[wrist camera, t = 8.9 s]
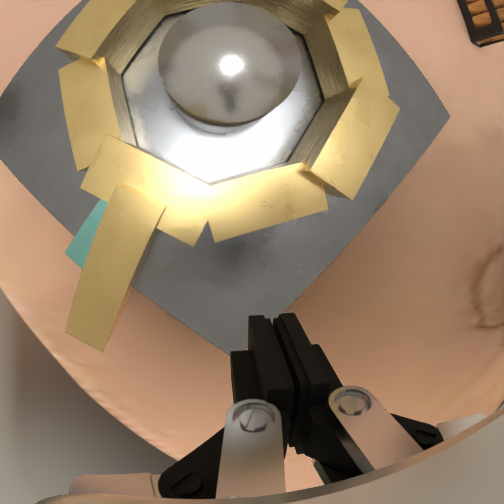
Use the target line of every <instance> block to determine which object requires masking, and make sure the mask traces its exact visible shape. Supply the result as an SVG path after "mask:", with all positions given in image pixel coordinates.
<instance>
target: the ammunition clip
mask: <svg viewBox="0 0 504 504" xmlns="http://www.w3.org/2000/svg"><path fill="white" fill-rule="evenodd" d="M457 1H458V4H459V7H460V9H461V12H462V15H463V18H464V21H465V24H466V27H467V30H468V33H469V36H470V40H471V42H472V43H474V44H475V45H477V46H479V47H480V48H481V47H484V46H487V45H491V44H494V43H498V42H501V41H504V0H457Z"/></svg>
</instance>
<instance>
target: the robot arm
mask: <svg viewBox="0 0 504 504" xmlns="http://www.w3.org/2000/svg"><path fill="white" fill-rule="evenodd" d="M230 361H231V380H232V391H233V400H234V405H232V407H231V408H230V409H229V410H228V412H227V415H226V421H225V427H224V428H222V429H221V430H220V431H219V432H217V433H216V434H215V435H214V436H212V437H211V438H210V439H208V440H207V441H206V442H204V443H203V444H202V445H200V446H199V447H198V448H196V449H195V450H194V451H192V452H191V453H189V454H188V455H187V456H185V457H184V458H182V459H181V460H180V461H178V462H177V463H175V464H174V465H172V466H171V467H169V468H168V469H167V470H165V472H163V473H162V474H158V475H150V473H149V472H148V473H136V474H118V475H82V476H79V477H77V478H76V479H74V480H73V481H72V483H71V484H70V487H69V494H64V495H57V496H52V497H48V498H45V499H43V500H40V501H38V502H37V503H36V504H504V408H503V409H501V410H499V411H497V412H495V413H493V414H492V415H490V416H486V415H483V414H475V415H471V416H467V417H464V418H460V419H456V420H452V421H448V422H443V423H439V424H437V425H436V426H435V427H434V426H432V425H430V424H427V423H423V422H419V421H416V420H412V419H408V418H405V417H401V416H398V415H395V414H391V413H389V412H388V411H387V410H386V409H385V408H384V407H383V405H382V404H381V403H380V402H379V401H378V400H377V399H376V398H375V397H374V396H373V394H371V393H370V392H369V391H368V390H366V389H363V388H361V387H357V386H345V387H343V385H342V384H341V382H340V380H339V378H338V377H337V375H336V373H335V371H334V370H333V368H332V366H331V364H330V363H329V361H328V359H327V357H326V356H325V354H324V352H323V350H322V349H321V347H320V346H319V345H318V344H313V345H311V343H310V341H309V339H308V337H307V336H306V334H305V332H304V330H303V328H302V326H301V324H300V323H299V321H298V319H297V317H296V315H295V314H294V313H284V314H279V315H278V318H274V319H273V326H272V323H271V320H270V318H265V317H264V315H250V316H248V350H242V351H230ZM287 444H289V447H295V450H296V453H297V454H303V453H304V454H305V455H306V456H308V457H311V458H312V463H313V466H314V467H315V469H316V471H317V473H318V474H319V476H320V478H321V480H322V481H323V483H324V485H322V486H318V487H313V488H309V489H303V490H298V491H293V492H287V493H286V490H285V472H284V459H285V455H286V450H287Z"/></svg>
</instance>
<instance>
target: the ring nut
mask: <svg viewBox="0 0 504 504" xmlns="http://www.w3.org/2000/svg"><path fill="white" fill-rule="evenodd" d="M235 1H241V2H243V3H245V4H250V5H253V6H256V7H259V8H261V9H264V10H266V11H268V12H269V13H271V14H273V15H274V16H276V17H277V18H278V19H280V20H281V21H282V22H283V23H284V24H286V25H288V26H289V27H291V28H293V29H294V30H296V31H298V32H299V33H301V34H303V35H304V37H305V40H306V42H307V45H308V48H309V51H310V54H311V57H312V60H313V63H314V66H315V69H316V72H317V75H318V79H319V82H320V85H321V89H322V92H323V95H324V99H325V101H324V102H323V104H322V106H321V107H320V109H319V111H318V112H317V114H316V116H315V117H314V119H313V121H312V122H311V124H310V126H309V127H308V129H307V131H306V132H305V134H304V136H303V137H302V139H301V141H300V143H299V144H298V146H297V148H296V149H295V151H294V153H293V154H292V156H291V158H290V160H289V161H288V162H286V163H282V164H278V165H274V166H270V167H266V168H262V169H258V170H254V171H251V172H247V173H243V174H239V175H236V176H232V177H229V178H225V179H222V180H218V181H215V182H211V183H208V182H206V181H204V180H202V179H200V178H198V177H197V176H195V175H193V174H191V173H189V172H187V171H185V170H183V169H181V168H180V167H178V166H176V165H174V164H172V163H170V162H168V161H166V160H164V159H162V158H160V157H158V156H156V155H154V154H152V153H150V152H148V151H146V150H144V149H142V148H140V147H138V146H137V144H136V140H135V136H134V133H133V129H132V125H131V120H130V116H129V112H128V108H127V103H126V99H125V94H124V90H123V85H122V80H121V73H122V72H123V70H124V69H125V67H126V66H127V64H128V63H129V61H130V60H131V59H132V57H133V56H134V54H135V53H136V52H137V50H138V49H139V47H140V46H141V45H142V43H143V42H144V41H145V40H146V38H147V37H148V36H149V34H150V33H151V32H152V31H153V29H154V28H155V27H156V26H157V24H158V23H159V22H160V21H161V20H162V19H163V17H164V16H166V15H169V14H173V13H177V12H181V11H185V10H190V9H194V8H199V7H202V6H205V5H209V4H213V3H220V2H235ZM347 1H348V0H90V1H89V2H88V3H87V5H86V6H85V7H84V8H83V9H82V11H81V12H80V13H79V14H78V16H77V17H76V18H75V19H74V21H73V22H72V23H71V25H70V26H69V27H68V29H67V30H66V31H65V33H64V34H63V36H62V37H61V39H60V40H59V41H58V43H57V44H56V46H55V47H56V48H57V49H58V50H60V51H61V52H62V53H64V54H65V55H66V56H67V57H69V58H70V59H71V60H72V61H74V62H72V63H70V64H68V65H67V66H65V67H63V68H61V69H59V78H60V86H61V93H62V100H63V106H64V112H65V118H66V123H67V128H68V133H69V138H70V142H71V147H72V151H73V155H74V160H75V164H76V167H77V171H87V173H86V175H85V177H84V180H83V182H82V184H81V187H80V188H81V189H83V190H85V191H87V192H89V193H91V194H93V195H95V196H96V197H98V198H100V199H102V200H104V201H106V202H108V205H107V207H106V209H105V212H104V214H103V216H102V219H101V221H100V224H99V226H98V229H97V231H96V234H95V236H94V239H93V242H92V244H91V247H90V250H89V253H88V256H87V258H86V261H85V264H84V267H83V270H82V273H81V276H80V280H79V283H78V286H77V289H76V293H75V296H74V300H73V303H72V307H71V311H70V314H69V318H68V322H67V326H66V331H65V332H66V333H67V334H69V335H71V336H73V337H75V338H76V339H78V340H80V341H82V342H84V343H86V344H88V345H90V346H92V347H94V348H96V349H98V350H100V351H102V352H104V350H105V347H106V345H107V343H108V341H109V338H110V336H111V334H112V332H113V330H114V328H115V325H116V323H117V321H118V319H119V317H120V315H121V313H122V311H123V309H124V307H125V305H126V302H127V300H128V298H129V295H130V293H131V290H132V288H133V286H134V283H135V281H136V279H137V276H138V274H139V272H140V270H141V267H142V265H143V263H144V261H145V258H146V256H147V254H148V252H149V250H150V248H151V246H152V243H153V241H154V239H155V237H156V235H157V233H158V231H159V230H161V231H163V232H165V233H167V234H169V235H171V236H173V237H175V238H177V239H179V240H181V241H183V242H185V243H187V244H189V245H191V246H193V247H194V245H195V243H196V242H197V240H198V238H199V236H200V234H201V232H202V230H203V228H204V227H205V225H206V223H207V221H208V222H209V225H210V228H211V232H212V235H213V238H214V242H215V243H216V242H219V241H222V240H226V239H229V238H232V237H236V236H239V235H242V234H246V233H249V232H252V231H256V230H259V229H263V228H266V227H269V226H273V225H276V224H280V223H283V222H286V221H290V220H293V219H297V218H300V217H304V216H307V215H311V214H314V213H318V212H321V211H325V210H328V205H327V200H326V195H325V194H328V195H332V196H336V197H340V198H344V199H348V200H352V201H353V199H354V197H355V195H356V194H357V192H358V190H359V188H360V186H361V185H362V183H363V181H364V179H365V177H366V175H367V173H368V172H369V170H370V168H371V166H372V164H373V162H374V160H375V158H376V156H377V154H378V152H379V151H380V149H381V147H382V145H383V143H384V141H385V139H386V137H387V135H388V133H389V131H390V129H391V127H392V125H393V123H394V121H395V119H396V116H397V114H398V112H399V110H400V108H399V107H398V106H397V105H396V104H395V103H394V102H393V101H392V100H390V99H389V98H388V97H387V96H390V95H389V91H388V88H387V84H386V81H385V78H384V75H383V71H382V68H381V65H380V62H379V59H378V56H377V53H376V51H375V48H374V45H373V42H372V40H371V37H370V35H369V32H368V29H367V27H366V25H365V22H364V20H363V17H362V15H361V13H360V11H359V9H353V8H343V7H344V5H345V4H346V3H347Z"/></svg>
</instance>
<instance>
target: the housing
mask: <svg viewBox="0 0 504 504" xmlns="http://www.w3.org/2000/svg"><path fill="white" fill-rule="evenodd" d="M89 1H90V0H82V1H81V2H80V3H79V4H78V5H76V6H75V7H74V8H73V9H72V10H71V11H70V12H69V13H68V14H67V15H66V16H65V17H64V18H63V19H62V20H61V21H60V22H59V23H58V24H57V25H56V26H55V27H54V28H53V29H52V30H51V32H50V33H49V34H48V35H47V36H46V37H45V38H44V39H43V40H42V42H41V43H40V44H39V45H38V46H37V48H36V49H35V50H34V51H33V52H32V54H31V55H30V56H29V57H28V59H27V60H26V61H25V62H24V64H23V65H22V66H21V68H20V69H19V70H18V72H17V73H16V75H15V76H14V77H13V79H12V80H11V82H10V83H9V85H8V86H7V88H6V89H5V91H4V92H3V94H2V95H1V97H0V159H1V160H2V162H3V163H4V164H5V165H6V166H7V167H8V168H9V170H10V171H11V172H12V173H13V174H14V175H15V176H16V177H17V179H18V180H19V181H20V182H21V183H22V184H23V185H24V186H25V187H26V188H27V189H28V191H29V192H30V193H31V194H32V195H33V196H34V197H35V198H36V199H37V200H38V201H39V202H40V203H41V204H42V205H43V206H44V207H45V208H46V209H47V210H48V211H49V212H50V213H51V214H52V215H53V216H54V217H55V218H56V219H57V220H58V221H59V222H60V223H61V224H62V225H63V226H64V227H65V228H66V229H68V230H69V231H70V232H71V233H72V234H73V235H74V236H75V237H74V239H73V241H72V242H71V244H70V246H69V247H68V249H67V250H66V252H65V254H66V255H68V256H69V257H70V258H71V259H72V260H73V261H74V262H75V263H76V264H78V265H79V266H80V267H81V268H82V269H83V267H84V264H85V261H86V258H87V256H88V253H89V250H90V247H91V244H92V242H93V239H94V236H95V234H96V231H97V229H98V226H99V224H100V221H101V219H102V216H103V214H104V212H105V209H106V207H107V205H108V202H106V201H104V200H102V199H100V198H98V197H96V196H95V195H93V194H91V193H89V192H87V191H85V190H83V189H81V188H80V187H81V184H82V182H83V180H84V177H85V175H86V173H87V171H77V167H76V164H75V160H74V155H73V151H72V147H71V142H70V138H69V133H68V128H67V123H66V118H65V112H64V106H63V100H62V93H61V86H60V78H59V69H61V68H63V67H65V66H67V65H68V64H70V63H72V62H74V61H72V60H71V59H70V58H69V57H67V56H66V55H65V54H64V53H62V52H61V51H60V50H58V49H57V48H56V47H55V46H56V44H57V43H58V41H59V40H60V39H61V37H62V36H63V34H64V33H65V31H66V30H67V29H68V27H69V26H70V25H71V23H72V22H73V21H74V19H75V18H76V17H77V16H78V14H79V13H80V12H81V11H82V9H83V8H84V7H85V6H86V5H87V3H88V2H89ZM343 8H353V9H359V11H360V13H361V15H362V17H363V20H364V22H365V25H366V27H367V29H368V32H369V35H370V37H371V40H372V42H373V45H374V48H375V51H376V53H377V56H378V59H379V62H380V65H381V68H382V71H383V75H384V78H385V81H386V84H387V88H388V91H389V95H390V96H387V97H388V98H389V99H390V100H392V101H393V102H394V103H395V104H396V105H397V106H398V107H399V108H400V110H399V112H398V114H397V116H396V119H395V121H394V123H393V125H392V127H391V129H390V131H389V133H388V135H387V137H386V139H385V141H384V143H383V145H382V147H381V149H380V151H379V152H378V154H377V156H376V158H375V160H374V162H373V164H372V166H371V168H370V170H369V172H368V173H367V175H366V177H365V179H364V181H363V183H362V185H361V186H360V188H359V190H358V192H357V194H356V195H355V197H354V199H353V201H352V200H348V199H344V198H340V197H336V196H332V195H328V194H325V195H326V200H327V205H328V210H325V211H321V212H318V213H314V214H311V215H307V216H304V217H300V218H297V219H293V220H290V221H286V222H283V223H280V224H276V225H273V226H269V227H266V228H263V229H259V230H256V231H252V232H249V233H246V234H242V235H239V236H236V237H232V238H229V239H226V240H222V241H219V242H216V243H215V242H214V238H213V235H212V232H211V228H210V225H209V222H208V221H207V223H206V225H205V227H204V228H203V230H202V232H201V234H200V236H199V238H198V240H197V242H196V243H195V245H194V247H193V246H191V245H189V244H187V243H185V242H183V241H181V240H179V239H177V238H175V237H173V236H171V235H169V234H167V233H165V232H163V231H161V230H159V231H158V233H157V235H156V237H155V239H154V241H153V243H152V246H151V248H150V250H149V252H148V254H147V256H146V258H145V261H144V263H143V265H142V267H141V270H140V272H139V274H138V276H137V279H136V281H135V283H134V286H133V287H135V288H136V289H137V290H138V291H140V292H141V293H142V294H144V295H145V296H146V297H147V298H149V299H150V300H151V301H153V302H154V303H155V304H157V305H158V306H159V307H161V308H162V309H163V310H165V311H166V312H167V313H169V314H170V315H171V316H173V317H174V318H176V319H177V320H178V321H180V322H181V323H183V324H184V325H185V326H187V327H188V328H190V329H191V330H193V331H194V332H195V333H197V334H198V335H200V336H201V337H203V338H204V339H206V340H207V341H209V342H210V343H212V344H213V345H215V346H216V347H218V348H219V349H221V350H222V351H224V352H225V353H227V354H228V355H230V351H242V350H245V349H246V348H247V347H248V316H250V315H264V317H265V318H270V320H271V323H273V319H274V318H278V315H279V314H282V313H283V312H284V311H285V310H286V309H287V308H288V307H289V306H290V305H291V304H292V303H293V302H294V301H295V300H296V299H297V298H298V297H299V296H300V295H301V294H302V293H303V292H304V291H305V290H306V289H307V288H308V287H309V286H310V285H311V283H312V282H313V281H314V280H315V279H316V278H317V277H318V276H319V275H320V274H321V273H322V272H323V271H324V270H325V269H326V268H327V266H328V265H329V264H330V263H331V262H332V261H333V260H334V259H335V258H336V257H337V256H338V254H339V253H340V252H341V251H342V250H343V249H344V248H345V247H346V246H347V245H348V243H349V242H350V241H351V240H352V239H353V238H354V237H355V236H356V234H357V233H358V232H359V231H360V230H361V229H362V228H363V226H364V225H365V224H366V223H367V222H368V221H369V220H370V218H371V217H372V216H373V215H374V214H375V213H376V211H377V210H378V209H379V208H380V207H381V205H382V204H383V203H384V202H385V201H386V199H387V198H388V197H389V196H390V195H391V193H392V192H393V191H394V190H395V189H396V187H397V186H398V185H399V184H400V182H401V181H402V180H403V179H404V177H405V176H406V175H407V174H408V172H409V171H410V170H411V169H412V167H413V166H414V165H415V164H416V162H417V161H418V160H419V158H420V157H421V156H422V154H423V153H424V152H425V151H426V149H427V148H428V147H429V145H430V144H431V143H432V141H433V140H434V139H435V137H436V136H437V135H438V133H439V132H440V130H441V129H442V128H443V126H444V125H445V124H446V122H447V121H448V119H449V118H450V115H449V114H448V112H447V110H446V109H445V107H444V105H443V104H442V102H441V100H440V99H439V97H438V96H437V94H436V93H435V91H434V90H433V88H432V87H431V85H430V84H429V82H428V81H427V79H426V78H425V77H424V75H423V74H422V72H421V71H420V70H419V68H418V67H417V66H416V64H415V63H414V62H413V60H412V59H411V58H410V57H409V55H408V54H407V53H406V52H405V50H404V49H403V48H402V47H401V45H400V44H399V43H398V42H397V41H396V40H395V38H394V37H393V36H392V35H391V34H390V33H389V32H388V30H387V29H386V28H385V27H384V26H383V25H382V24H381V23H380V22H379V21H378V20H377V19H376V18H375V17H374V16H373V14H372V13H371V12H370V11H369V10H368V9H367V8H365V7H364V6H363V5H362V4H361V3H360V2H359V1H358V0H348V1H347V3H346V4H345V5H344V7H343ZM121 80H122V85H123V90H124V94H125V99H126V103H127V108H128V112H129V116H130V120H131V125H132V129H133V133H134V136H135V140H136V144H137V146H138V147H140V148H142V149H144V150H146V151H148V152H150V153H152V154H154V155H156V156H158V157H160V158H162V159H164V160H166V161H168V162H170V163H172V164H174V165H176V166H178V167H180V168H181V169H183V170H185V171H187V172H189V173H191V174H193V175H195V176H197V177H198V178H200V179H202V180H204V181H206V182H208V183H211V182H215V181H218V180H222V179H225V178H229V177H232V176H236V175H239V174H243V173H247V172H251V171H254V170H258V169H262V168H266V167H270V166H274V165H278V164H282V163H286V162H288V161H289V160H290V158H291V156H292V154H293V153H294V151H295V149H296V148H297V146H298V144H299V143H300V141H301V139H302V137H303V136H304V134H305V132H306V131H307V129H308V127H309V126H310V124H311V122H312V121H313V119H314V117H315V116H316V114H317V112H318V111H319V109H320V107H321V106H322V104H323V102H324V101H325V99H324V95H323V92H322V89H321V85H320V82H319V79H318V75H317V72H316V69H315V66H314V63H313V60H312V57H311V54H310V51H309V48H308V45H307V42H306V40H305V37H304V35H303V34H301V33H299V32H298V31H296V30H294V29H293V28H291V27H289V26H288V25H286V24H284V23H283V22H282V21H281V20H280V19H278V18H277V17H276V16H274V15H273V14H271V13H269V12H268V11H266V10H264V9H261V8H259V7H256V6H253V5H250V4H245V3H243V2H241V1H235V2H220V3H213V4H209V5H205V6H202V7H199V8H194V9H190V10H185V11H181V12H177V13H173V14H169V15H166V16H164V17H163V19H162V20H161V21H160V22H159V23H158V24H157V26H156V27H155V28H154V29H153V31H152V32H151V33H150V34H149V36H148V37H147V38H146V40H145V41H144V42H143V43H142V45H141V46H140V47H139V49H138V50H137V52H136V53H135V54H134V56H133V57H132V59H131V60H130V61H129V63H128V64H127V66H126V67H125V69H124V70H123V72H122V73H121Z"/></svg>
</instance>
